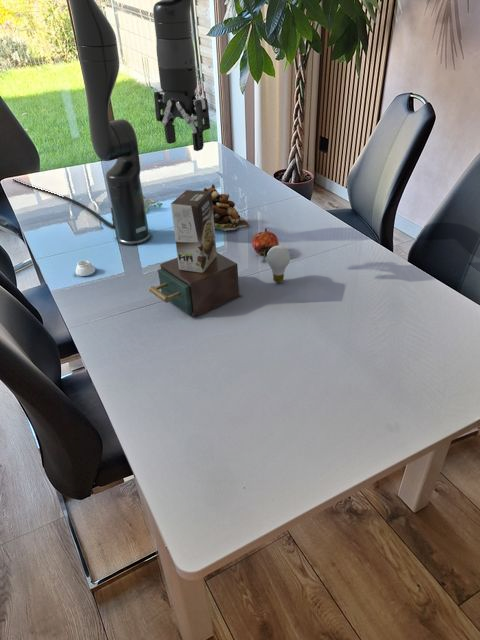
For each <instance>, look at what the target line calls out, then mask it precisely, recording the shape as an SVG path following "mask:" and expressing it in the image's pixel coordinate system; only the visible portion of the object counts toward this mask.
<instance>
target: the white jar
mask: <svg viewBox="0 0 480 640" xmlns="http://www.w3.org/2000/svg"><path fill="white" fill-rule="evenodd" d="M95 272H96V269H95V266H94V265H93V264H92V263H91V262H90V261H89V260H87V259H86V260H80V261H78V262H77V265H76V268H75V274H76V275H77V276H79V277H86V276H90V275H92V274H93V273H95Z"/></svg>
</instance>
